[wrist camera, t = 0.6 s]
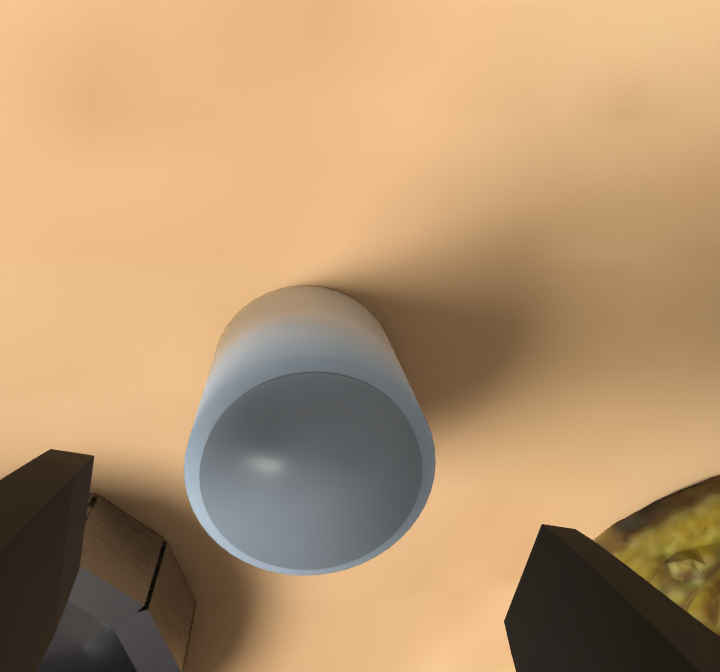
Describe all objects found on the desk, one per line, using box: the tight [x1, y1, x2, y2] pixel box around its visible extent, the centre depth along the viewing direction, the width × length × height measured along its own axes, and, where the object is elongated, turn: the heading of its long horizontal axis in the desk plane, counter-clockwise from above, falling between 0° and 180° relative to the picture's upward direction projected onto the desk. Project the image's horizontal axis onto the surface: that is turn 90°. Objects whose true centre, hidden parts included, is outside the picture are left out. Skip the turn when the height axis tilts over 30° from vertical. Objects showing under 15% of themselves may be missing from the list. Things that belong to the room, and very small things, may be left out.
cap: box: [184, 286, 435, 576], centre depth 14 cm, size 5×5×5 cm
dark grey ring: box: [36, 493, 196, 672], centre depth 17 cm, size 9×9×3 cm
